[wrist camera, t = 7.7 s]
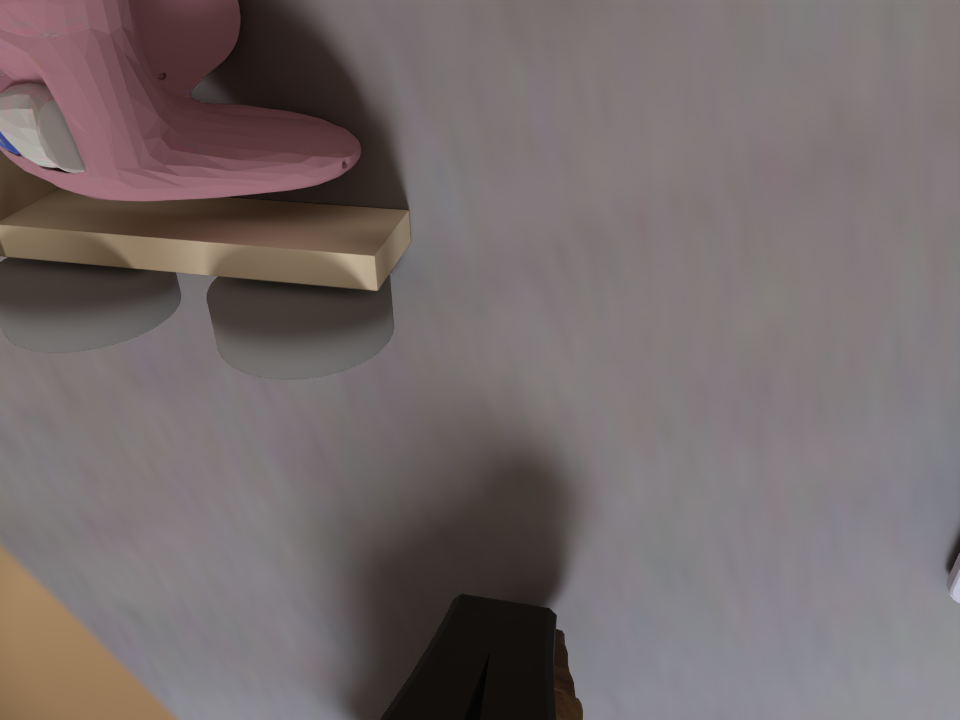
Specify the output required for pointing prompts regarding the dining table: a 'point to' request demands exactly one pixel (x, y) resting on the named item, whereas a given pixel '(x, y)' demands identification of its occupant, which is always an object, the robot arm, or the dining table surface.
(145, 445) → the dining table surface
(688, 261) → the dining table surface
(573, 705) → the wooden carving
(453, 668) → the robot arm
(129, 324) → the chassis
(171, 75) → the pink toy figure
